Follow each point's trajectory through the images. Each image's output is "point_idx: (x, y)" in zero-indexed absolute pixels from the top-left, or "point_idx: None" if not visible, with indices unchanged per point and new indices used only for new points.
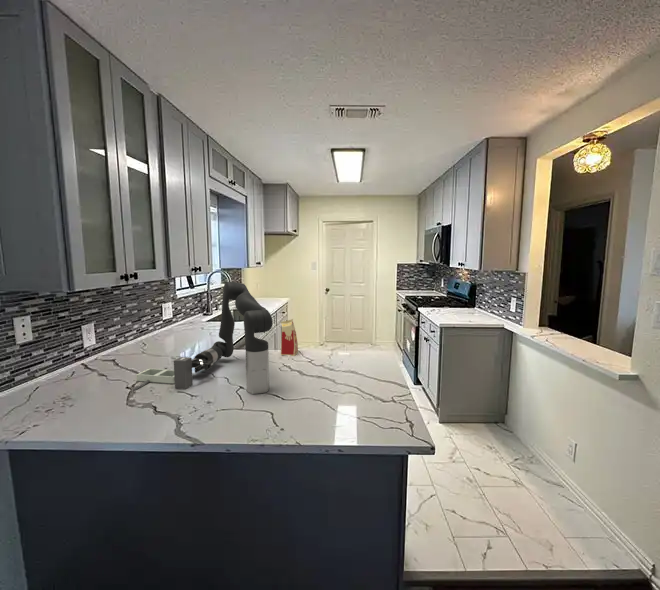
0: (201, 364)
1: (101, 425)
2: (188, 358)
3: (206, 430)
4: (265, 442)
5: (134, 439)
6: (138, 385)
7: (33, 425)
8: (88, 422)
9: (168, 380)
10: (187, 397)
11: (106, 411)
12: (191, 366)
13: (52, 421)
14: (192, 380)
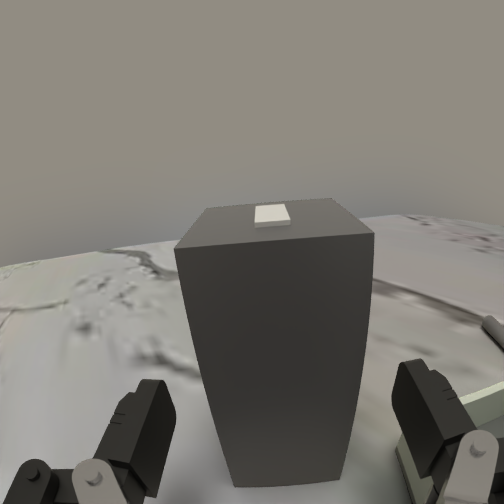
0: (97, 469)
1: None
2: (204, 231)
3: (92, 263)
4: (21, 264)
5: None
6: (501, 329)
7: (428, 224)
8: None
9: None
10: (178, 346)
11: (376, 256)
12: (201, 362)
13: (421, 230)
14: (229, 469)
